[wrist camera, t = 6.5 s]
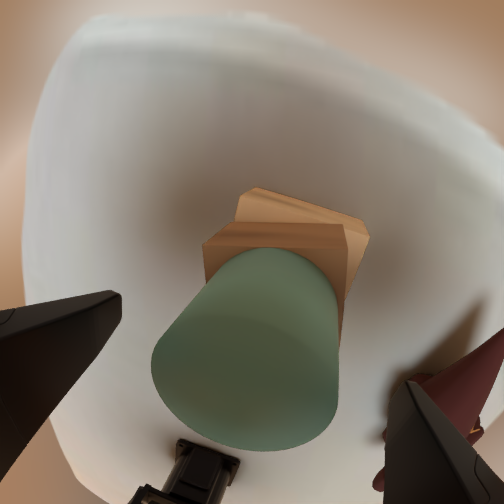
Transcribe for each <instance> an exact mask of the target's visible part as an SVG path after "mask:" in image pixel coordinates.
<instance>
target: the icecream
mask: <svg viewBox="0 0 504 504" xmlns="http://www.w3.org/2000/svg"><path fill="white" fill-rule="evenodd" d="M503 359H504V328H503V329H501V330H500V331H499V332H497V333H496V334H495V335H494V336H492V337H491V338H490V339H488V340H487V341H486V342H485V343H483V344H482V345H481V346H479V347H478V348H476V349H475V350H474V351H472V352H471V353H469V354H468V355H466V356H465V357H463V358H462V359H460V360H459V361H457V362H456V363H454V364H453V365H451V366H450V367H448V368H446V369H445V370H443V371H442V372H440V373H438V374H437V375H435V376H429V375H425V374H416V375H414V376H413V377H412V378H411V379H410V380H409V381H412V382H416V383H417V384H418V385H419V386H420V387H421V388H422V389H423V391H424V392H425V393H426V394H427V395H428V396H429V397H430V398H431V400H432V401H433V402H434V403H435V404H436V405H437V406H438V408H439V409H440V410H441V411H442V412H443V413H444V414H445V416H446V417H447V418H448V419H449V420H450V421H451V422H452V424H453V425H454V426H455V427H456V428H457V429H458V431H459V432H460V433H461V434H462V435H463V436H464V438H465V439H466V440H467V441H468V442H469V443H470V445H471V446H473V444H474V443H475V442H476V441H477V440H478V439H479V438H480V437H482V435H483V434H484V429H483V427H481V426H480V417H479V415H480V413H481V411H482V408H483V406H484V404H485V402H486V400H487V398H488V396H489V394H490V391H491V389H492V387H493V384H494V382H495V380H496V377H497V375H498V372H499V370H500V367H501V365H502V362H503ZM387 424H388V421H387ZM386 433H387V428H386V429H385V431H384V432H383V433H382V434H383V437H384V441H385V443H386ZM384 450H385V448H384ZM384 476H385V466H384V467H383V469H381V470H380V471H379V472H378V474H377V475H376V476H375V478H374V480H373V484H372V487H373V488H374V490H376V491H379V492H383V491H384Z"/></svg>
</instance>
